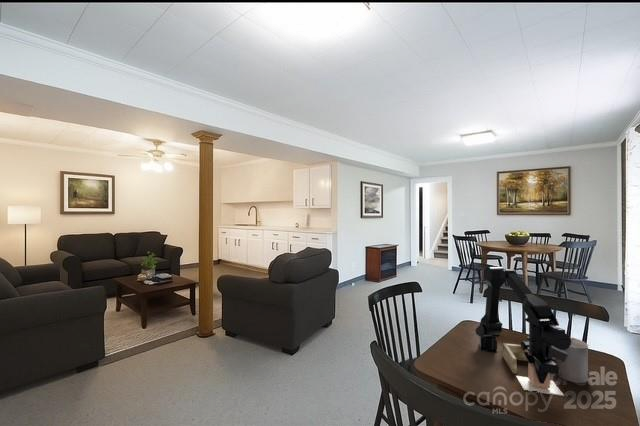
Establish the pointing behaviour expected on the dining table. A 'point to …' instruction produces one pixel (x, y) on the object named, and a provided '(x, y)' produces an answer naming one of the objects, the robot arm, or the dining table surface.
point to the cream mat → (528, 386)
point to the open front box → (513, 355)
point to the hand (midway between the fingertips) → (538, 379)
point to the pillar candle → (575, 362)
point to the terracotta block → (534, 379)
